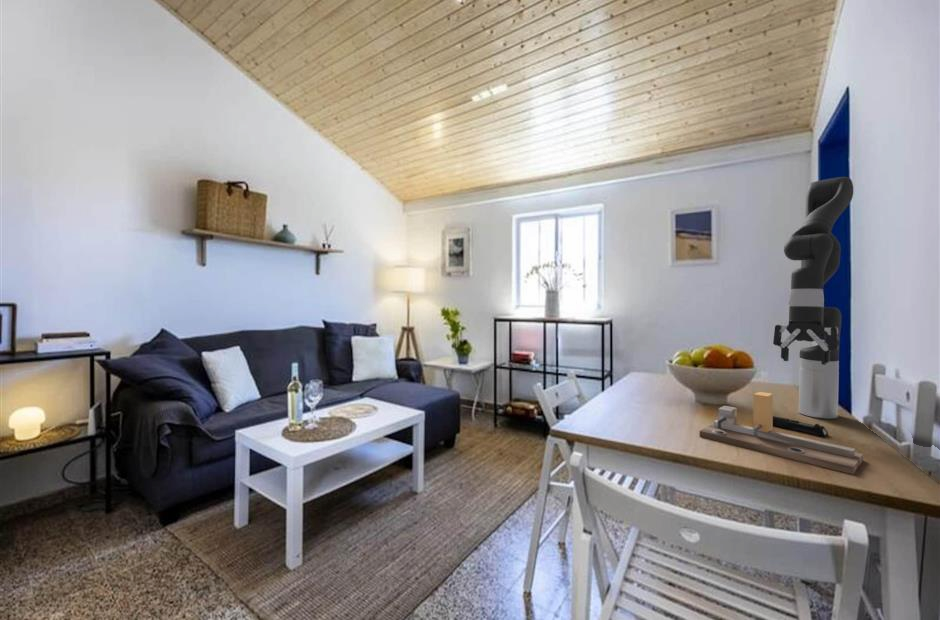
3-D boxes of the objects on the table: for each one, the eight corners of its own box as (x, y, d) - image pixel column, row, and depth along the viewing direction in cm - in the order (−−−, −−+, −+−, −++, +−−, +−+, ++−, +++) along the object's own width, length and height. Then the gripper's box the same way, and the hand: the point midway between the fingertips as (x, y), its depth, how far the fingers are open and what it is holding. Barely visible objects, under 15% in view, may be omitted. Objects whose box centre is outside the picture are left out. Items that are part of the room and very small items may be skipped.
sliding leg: (758, 428, 106) (759, 391, 105) (772, 431, 103) (773, 393, 103) (747, 434, 101) (748, 396, 100) (762, 438, 98) (762, 398, 98)
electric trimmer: (762, 422, 121) (762, 412, 121) (829, 436, 108) (829, 424, 108) (757, 424, 119) (757, 414, 119) (824, 439, 106) (824, 427, 106)
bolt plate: (716, 427, 115) (716, 402, 115) (862, 460, 92) (863, 429, 91) (699, 436, 108) (699, 410, 108) (853, 474, 85) (854, 440, 84)
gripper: (842, 306, 112) (840, 365, 112) (779, 305, 123) (777, 359, 123) (836, 305, 108) (834, 366, 108) (771, 304, 119) (769, 360, 119)
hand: (804, 362), depth 116 cm, fingers open, 8 cm apart
